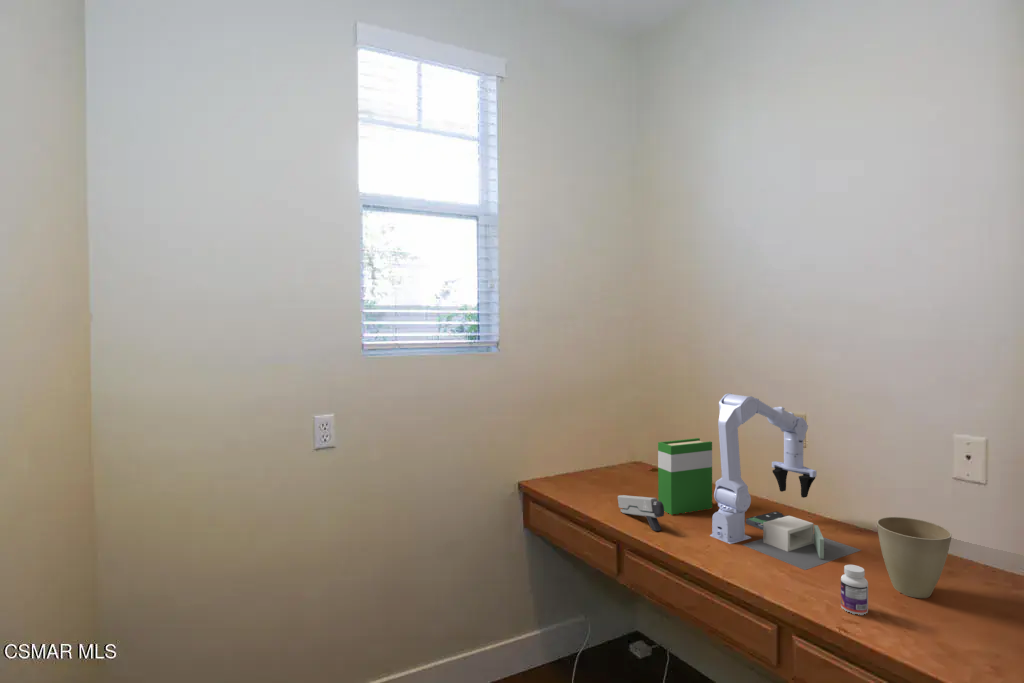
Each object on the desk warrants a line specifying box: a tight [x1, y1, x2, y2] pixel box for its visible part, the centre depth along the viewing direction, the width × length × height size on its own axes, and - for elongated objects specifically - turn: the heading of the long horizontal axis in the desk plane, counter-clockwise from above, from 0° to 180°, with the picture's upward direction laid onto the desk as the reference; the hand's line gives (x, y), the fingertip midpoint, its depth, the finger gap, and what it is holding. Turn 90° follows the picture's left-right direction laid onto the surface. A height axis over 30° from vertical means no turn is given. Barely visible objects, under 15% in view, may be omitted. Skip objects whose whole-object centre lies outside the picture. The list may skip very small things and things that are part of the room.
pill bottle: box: [840, 564, 869, 616], centre depth 129 cm, size 5×5×10 cm
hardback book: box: [657, 437, 713, 516], centre depth 201 cm, size 18×7×24 cm, turn 111°
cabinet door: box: [814, 524, 827, 559], centre depth 161 cm, size 12×2×5 cm, turn 159°
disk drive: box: [745, 510, 790, 531], centre depth 183 cm, size 10×3×15 cm
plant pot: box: [876, 516, 953, 599], centre depth 137 cm, size 15×15×16 cm
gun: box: [617, 494, 665, 532], centre depth 188 cm, size 2×25×10 cm, turn 22°
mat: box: [741, 536, 862, 571], centre depth 164 cm, size 26×20×1 cm
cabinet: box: [762, 515, 815, 551], centre depth 168 cm, size 12×8×6 cm, turn 119°
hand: (793, 493), depth 184 cm, fingers open, 7 cm apart
